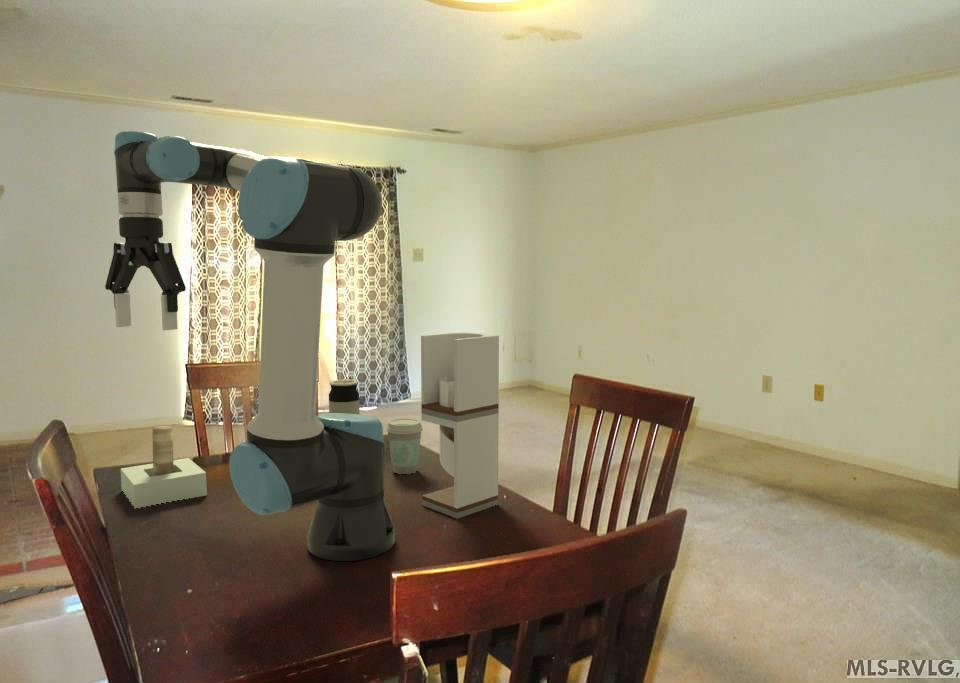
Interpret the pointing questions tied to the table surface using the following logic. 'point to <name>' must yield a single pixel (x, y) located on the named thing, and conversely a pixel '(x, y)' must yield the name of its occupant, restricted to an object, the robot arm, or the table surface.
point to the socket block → (163, 483)
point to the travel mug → (344, 397)
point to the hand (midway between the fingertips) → (146, 328)
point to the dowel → (162, 450)
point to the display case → (463, 417)
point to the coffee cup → (404, 444)
